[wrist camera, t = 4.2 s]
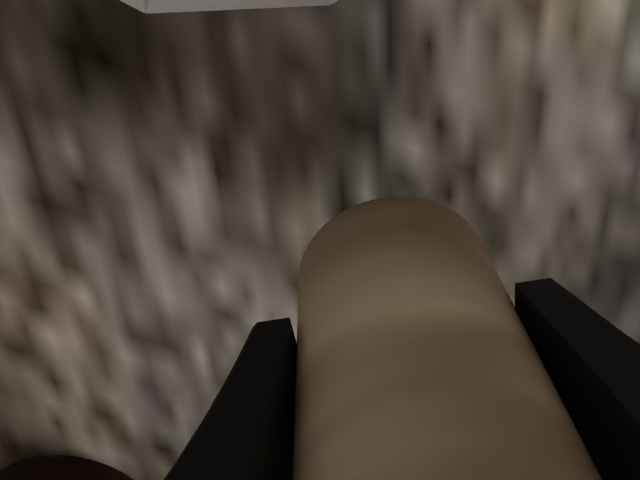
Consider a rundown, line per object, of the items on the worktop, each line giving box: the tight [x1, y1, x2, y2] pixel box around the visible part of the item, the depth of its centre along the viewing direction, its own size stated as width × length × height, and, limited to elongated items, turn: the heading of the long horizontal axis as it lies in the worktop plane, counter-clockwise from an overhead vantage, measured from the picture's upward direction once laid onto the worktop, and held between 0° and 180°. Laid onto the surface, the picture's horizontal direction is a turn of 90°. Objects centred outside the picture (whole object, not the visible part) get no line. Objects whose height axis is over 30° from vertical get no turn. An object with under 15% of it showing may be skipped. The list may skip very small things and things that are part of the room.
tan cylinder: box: [293, 197, 602, 480], centre depth 9 cm, size 4×4×7 cm
